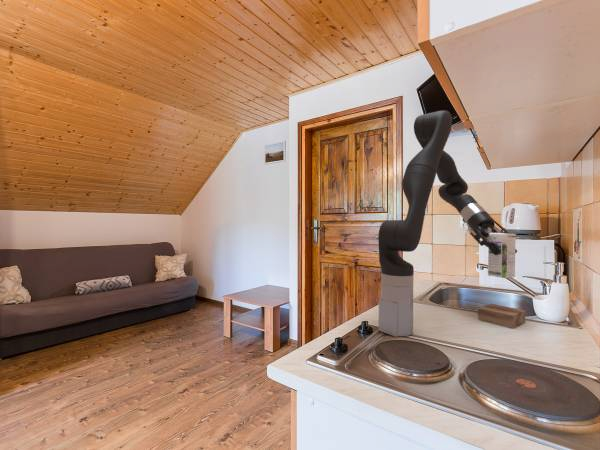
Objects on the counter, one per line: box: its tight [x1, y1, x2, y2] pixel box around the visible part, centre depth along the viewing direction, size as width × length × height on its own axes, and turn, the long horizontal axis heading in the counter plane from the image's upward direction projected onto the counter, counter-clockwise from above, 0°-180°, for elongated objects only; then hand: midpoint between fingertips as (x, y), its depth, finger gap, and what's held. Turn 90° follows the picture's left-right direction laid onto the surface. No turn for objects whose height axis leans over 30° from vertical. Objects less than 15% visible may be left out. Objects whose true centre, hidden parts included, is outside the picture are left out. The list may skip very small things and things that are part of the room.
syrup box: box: [487, 232, 517, 279], centre depth 97 cm, size 6×6×14 cm
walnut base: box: [477, 303, 526, 329], centre depth 97 cm, size 10×10×4 cm
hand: (506, 253), depth 96 cm, fingers closed on syrup box, 6 cm apart
